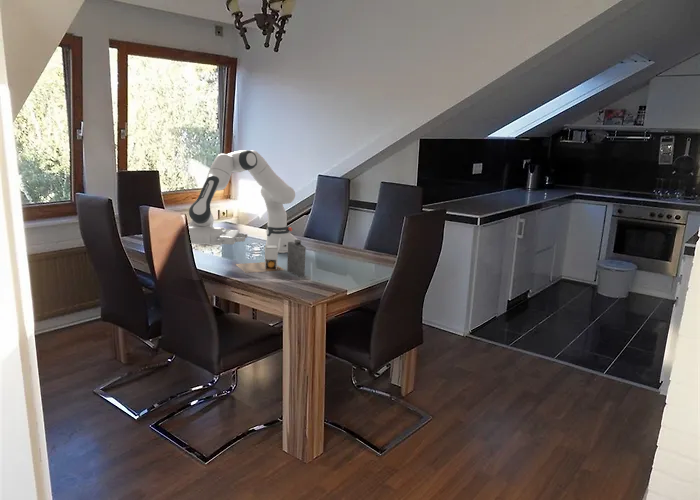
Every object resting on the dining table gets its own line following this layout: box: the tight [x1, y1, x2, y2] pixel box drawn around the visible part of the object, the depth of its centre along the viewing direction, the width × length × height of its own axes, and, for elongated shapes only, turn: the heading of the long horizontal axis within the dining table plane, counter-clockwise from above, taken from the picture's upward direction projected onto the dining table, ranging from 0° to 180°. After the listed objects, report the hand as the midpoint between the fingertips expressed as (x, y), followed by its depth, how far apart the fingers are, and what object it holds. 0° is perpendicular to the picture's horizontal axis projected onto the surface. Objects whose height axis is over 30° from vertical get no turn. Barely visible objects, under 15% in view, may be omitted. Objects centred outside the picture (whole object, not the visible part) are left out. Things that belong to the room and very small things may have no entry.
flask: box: [286, 239, 306, 278], centre depth 264 cm, size 4×14×18 cm, turn 35°
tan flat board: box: [234, 261, 285, 274], centre depth 275 cm, size 20×18×1 cm
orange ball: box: [268, 261, 275, 268], centre depth 274 cm, size 4×4×4 cm
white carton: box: [264, 244, 279, 269], centre depth 273 cm, size 6×6×11 cm
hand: (246, 237), depth 270 cm, fingers open, 8 cm apart
